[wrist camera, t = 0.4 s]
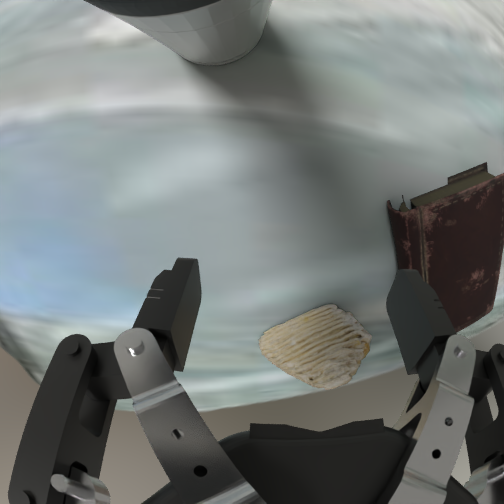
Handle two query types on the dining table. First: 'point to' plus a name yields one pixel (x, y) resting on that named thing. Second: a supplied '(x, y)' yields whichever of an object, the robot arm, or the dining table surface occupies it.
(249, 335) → the dining table surface
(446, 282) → the diary
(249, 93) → the dining table surface
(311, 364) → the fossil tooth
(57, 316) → the dining table surface
